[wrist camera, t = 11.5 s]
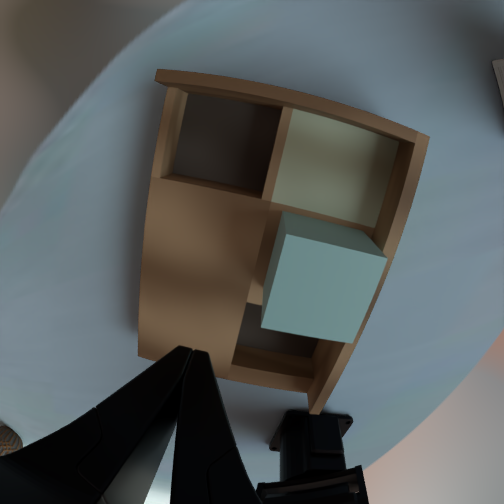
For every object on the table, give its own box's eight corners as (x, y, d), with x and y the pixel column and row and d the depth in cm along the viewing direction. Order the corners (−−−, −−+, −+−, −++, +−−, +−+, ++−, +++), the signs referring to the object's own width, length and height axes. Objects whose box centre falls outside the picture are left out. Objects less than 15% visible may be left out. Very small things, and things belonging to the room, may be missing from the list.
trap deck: (313, 372, 23) (319, 414, 19) (149, 336, 22) (128, 374, 18) (395, 135, 16) (429, 136, 12) (183, 83, 16) (157, 68, 12)
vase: (23, 433, 33) (1, 468, 25) (32, 451, 36) (13, 484, 28) (-6, 414, 33) (-28, 446, 25) (4, 433, 35) (-15, 463, 27)
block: (337, 302, 18) (352, 343, 14) (263, 287, 18) (260, 327, 14) (363, 230, 16) (387, 258, 12) (282, 210, 16) (286, 233, 12)
